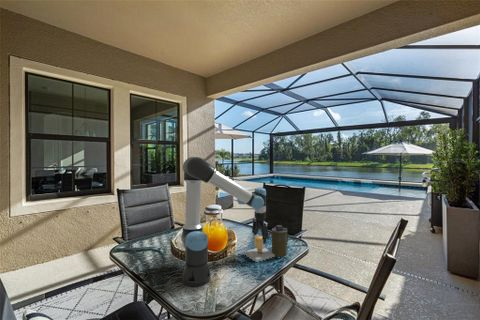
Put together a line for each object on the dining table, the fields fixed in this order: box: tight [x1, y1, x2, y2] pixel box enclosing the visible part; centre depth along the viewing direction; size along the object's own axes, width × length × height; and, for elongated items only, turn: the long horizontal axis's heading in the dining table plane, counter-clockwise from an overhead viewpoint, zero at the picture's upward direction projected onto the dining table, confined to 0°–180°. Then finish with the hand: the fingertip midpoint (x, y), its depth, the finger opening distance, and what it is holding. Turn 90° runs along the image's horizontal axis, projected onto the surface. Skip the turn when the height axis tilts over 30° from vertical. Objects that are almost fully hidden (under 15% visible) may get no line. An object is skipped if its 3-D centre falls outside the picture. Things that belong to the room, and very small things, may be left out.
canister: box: [271, 224, 289, 258], centre depth 148 cm, size 11×10×20 cm
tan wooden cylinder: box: [254, 235, 262, 249], centre depth 146 cm, size 7×7×6 cm
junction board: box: [243, 247, 275, 263], centre depth 146 cm, size 16×14×6 cm
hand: (259, 246), depth 146 cm, fingers closed on tan wooden cylinder, 7 cm apart
